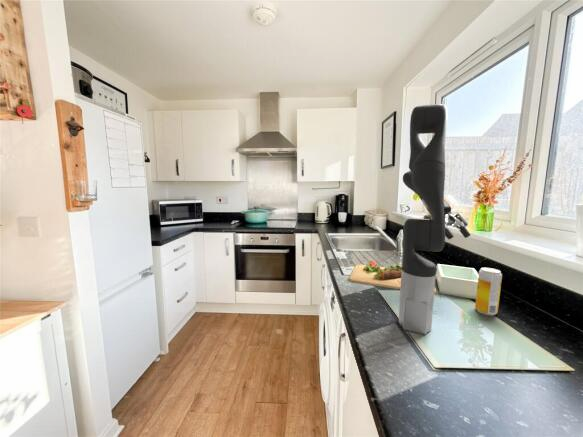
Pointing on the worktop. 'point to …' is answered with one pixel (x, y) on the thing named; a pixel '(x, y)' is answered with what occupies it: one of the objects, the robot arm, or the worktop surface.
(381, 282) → the cutting board
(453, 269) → the bin
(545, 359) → the worktop surface
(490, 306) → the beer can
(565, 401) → the worktop surface
